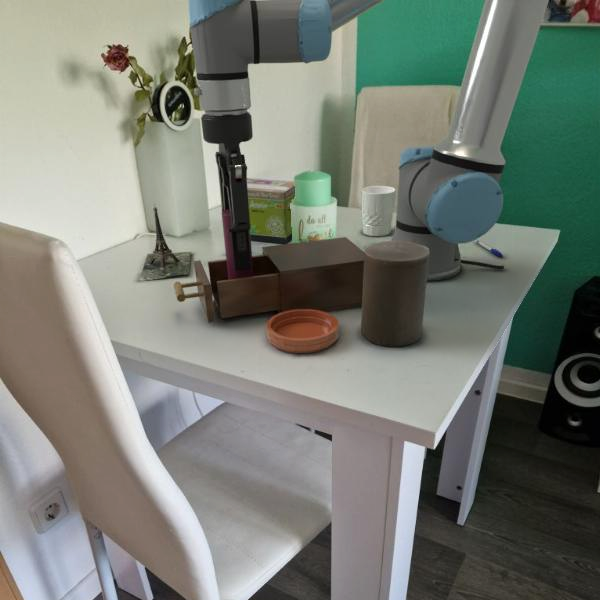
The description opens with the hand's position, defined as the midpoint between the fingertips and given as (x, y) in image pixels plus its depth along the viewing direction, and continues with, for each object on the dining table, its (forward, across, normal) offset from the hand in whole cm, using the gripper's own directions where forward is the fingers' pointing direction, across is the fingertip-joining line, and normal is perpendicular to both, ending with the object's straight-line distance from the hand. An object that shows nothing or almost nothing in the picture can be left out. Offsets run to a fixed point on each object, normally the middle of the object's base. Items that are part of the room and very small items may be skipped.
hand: (239, 263), depth 96 cm
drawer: (+7, 0, -2) cm, 8 cm away
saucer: (+8, +15, +7) cm, 18 cm away
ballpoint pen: (+8, -12, +57) cm, 59 cm away
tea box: (+8, -29, +11) cm, 32 cm away
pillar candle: (+8, +18, +21) cm, 29 cm away
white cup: (+8, -33, +40) cm, 52 cm away
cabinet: (+8, 0, +14) cm, 16 cm away
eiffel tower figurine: (+8, -27, -11) cm, 30 cm away
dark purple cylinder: (+6, 0, 0) cm, 6 cm away
